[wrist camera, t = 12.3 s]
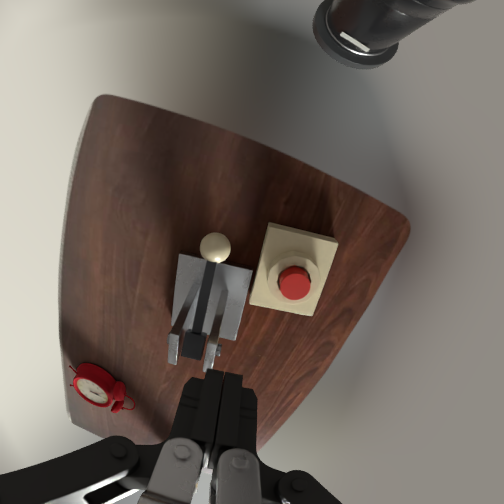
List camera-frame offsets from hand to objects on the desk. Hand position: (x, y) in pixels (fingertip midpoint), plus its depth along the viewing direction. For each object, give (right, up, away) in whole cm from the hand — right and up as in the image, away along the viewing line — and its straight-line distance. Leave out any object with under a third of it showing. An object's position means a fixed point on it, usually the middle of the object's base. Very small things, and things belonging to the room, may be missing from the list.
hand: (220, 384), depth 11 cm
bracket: (-5, -1, +29) cm, 30 cm away
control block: (+7, +3, +27) cm, 28 cm away
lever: (-4, +1, +21) cm, 22 cm away
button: (+6, +2, +24) cm, 25 cm away
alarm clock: (-29, -22, +38) cm, 53 cm away
